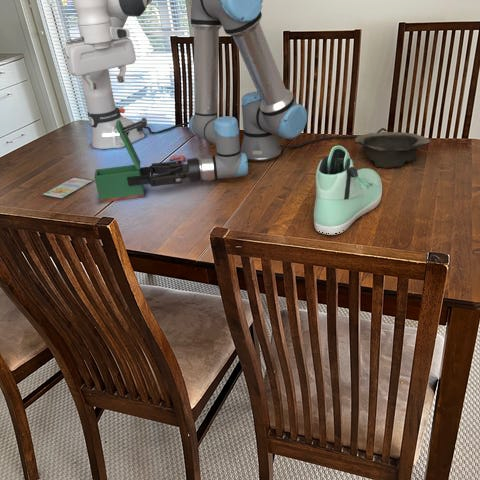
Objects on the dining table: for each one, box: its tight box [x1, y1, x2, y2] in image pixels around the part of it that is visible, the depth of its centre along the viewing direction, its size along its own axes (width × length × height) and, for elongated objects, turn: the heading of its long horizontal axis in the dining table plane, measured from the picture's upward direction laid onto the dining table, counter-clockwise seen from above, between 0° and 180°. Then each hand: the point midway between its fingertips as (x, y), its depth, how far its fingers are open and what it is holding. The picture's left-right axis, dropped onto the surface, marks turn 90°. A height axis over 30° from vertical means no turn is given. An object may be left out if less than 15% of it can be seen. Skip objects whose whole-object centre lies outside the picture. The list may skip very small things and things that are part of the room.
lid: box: [116, 117, 148, 170], centre depth 149 cm, size 15×6×9 cm
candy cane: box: [169, 154, 186, 163], centre depth 176 cm, size 6×15×2 cm, turn 145°
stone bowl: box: [354, 131, 431, 169], centre depth 165 cm, size 25×25×9 cm
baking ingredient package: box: [42, 177, 92, 199], centre depth 165 cm, size 9×1×15 cm
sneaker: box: [313, 145, 383, 236], centre depth 133 cm, size 14×35×20 cm, turn 152°
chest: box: [93, 164, 145, 204], centre depth 155 cm, size 14×6×9 cm, turn 99°
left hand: (107, 85), depth 139 cm, fingers open, 8 cm apart
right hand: (128, 177), depth 154 cm, fingers closed on chest, 6 cm apart
